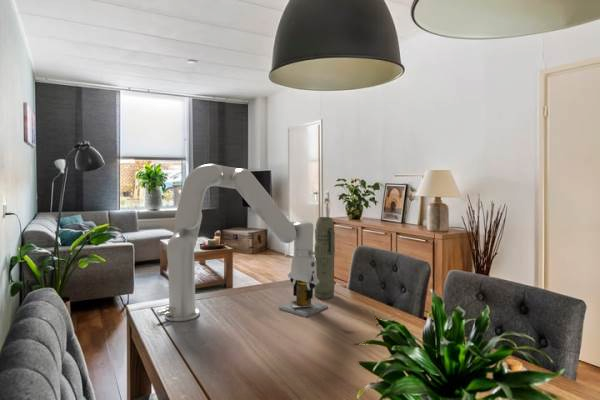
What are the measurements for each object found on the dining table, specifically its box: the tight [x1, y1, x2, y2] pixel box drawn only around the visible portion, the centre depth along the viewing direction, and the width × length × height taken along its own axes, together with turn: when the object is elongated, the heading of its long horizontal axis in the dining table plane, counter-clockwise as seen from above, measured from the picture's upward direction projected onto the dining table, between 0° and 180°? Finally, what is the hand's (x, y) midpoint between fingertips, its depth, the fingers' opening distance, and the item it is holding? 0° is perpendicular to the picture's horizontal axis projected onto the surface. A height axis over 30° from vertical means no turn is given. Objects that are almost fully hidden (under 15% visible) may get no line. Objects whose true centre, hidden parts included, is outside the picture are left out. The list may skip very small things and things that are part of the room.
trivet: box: [278, 300, 329, 318], centre depth 154 cm, size 14×14×1 cm
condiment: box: [289, 280, 314, 307], centre depth 154 cm, size 7×8×12 cm
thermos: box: [313, 216, 336, 300], centre depth 169 cm, size 9×12×35 cm
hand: (302, 296), depth 154 cm, fingers closed on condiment, 6 cm apart
